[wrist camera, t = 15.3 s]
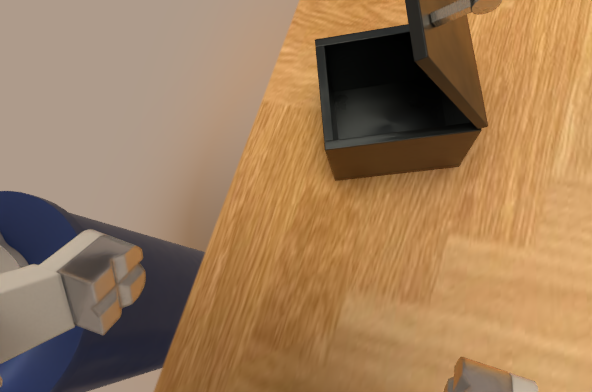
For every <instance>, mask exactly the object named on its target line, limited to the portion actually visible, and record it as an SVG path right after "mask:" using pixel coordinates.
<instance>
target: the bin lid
mask: <svg viewBox="0 0 592 392" xmlns="http://www.w3.org/2000/svg"><path fill="white" fill-rule="evenodd" d="M501 1H502V0H405V3H406V10H407V16H408V23H409V30H410V36H411V43H412V49H413V56H414V61H415V62H416V63H417V65H418V66H419V67H420V68H421V69H422V70H423V71H424V72H425V73H426V74H427V75H428V76H429V77H430V78H431V79H432V80H433V82H434V83H435V84H436V85H437V86H438V87H439V88H440V89H441V90H442V91H443V92H444V93H445V94H446V95H447V96H448V98H449V99H450V100H451V101H452V102H453V103H454V104H455V105H456V106H457V107H458V108H459V109H460V110H461V111H462V112H463V114H464V115H465V116H466V117H467V118H468V119H469V120H470V121H471V122H472V123H473V124H474V125H475V126H476V127H477V128H478V129H480V128H484V127H487V126H488V123H487V117H486V112H485V107H484V102H483V97H482V91H481V86H480V81H479V76H478V71H477V65H476V60H475V55H474V50H473V45H472V39H471V34H470V29H469V24H468V19H467V14H469V13H471V12H473V13H474V14H485V13H488V12H491V11H493V10H494V9H496V8H497V7H498V6H499V5H500V4H501Z"/></svg>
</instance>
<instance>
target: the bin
mask: <svg viewBox="0 0 592 392" xmlns="http://www.w3.org/2000/svg"><path fill="white" fill-rule="evenodd" d="M315 45H316V56H317V67H318V78H319V89H320V100H321V111H322V122H323V133H324V144H325V151H326V154H327V157H328V160H329V163H330V166H331V169H332V172H333V175H334V179H335V181H337V180H346V179H354V178H363V177H372V176H380V175H389V174H398V173H406V172H415V171H424V170H432V169H441V168H450V167H459V165H460V164H461V162H462V160H463V159H464V157H465V156H466V154H467V152H468V151H469V149H470V148H471V146H472V144H473V143H474V141H475V140H476V138H477V136H478V135H479V133H480V132H481V128H480V129H478V128H477V127H476V126H475V125H474V124H473V123H472V122H471V121H470V120H469V119H468V118H467V117H466V116H465V115H464V114H463V112H462V111H461V110H460V109H459V108H458V107H457V106H456V105H455V104H454V103H453V102H452V101H451V100H450V99H449V98H448V96H447V95H446V94H445V93H444V92H443V91H442V90H441V89H440V88H439V87H438V86H437V85H436V84H435V83H434V82H433V80H432V79H431V78H430V77H429V76H428V75H427V74H426V73H425V72H424V71H423V70H422V69H421V68H420V67H419V66H418V65H417V63H416V62H415V61H414V56H413V49H412V43H411V36H410V30H409V24H407V25H401V26H395V27H389V28H383V29H377V30H371V31H365V32H359V33H352V34H346V35H340V36H334V37H328V38H322V39H316V40H315Z"/></svg>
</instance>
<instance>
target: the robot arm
mask: <svg viewBox="0 0 592 392" xmlns="http://www.w3.org/2000/svg"><path fill="white" fill-rule="evenodd" d="M142 259H143V254H142V248H140V247H138V246H135V245H133V244H130V243H127V242H125V241H122V240H120V239H117V238H114V237H112V236H109V235H106V234H103V233H100V232H97V231H95V230H92V229H89V230H85V231H83V232H82V233H80V234H79V235H78V236H77V237H75V238H74V239H73V240H71V241H70V242H69V243H67V244H66V245H65V246H63V247H62V248H61V249H60V250H58V251H57V252H56V253H54V254H53V255H52V256H50V257H49V258H48V259H46V260H45V261H44V262H43V263H41V264H40V265H36V264H31V265H29V264H28V262H27V261H26V259H25V258H24V257H23V256H22V255H21V254H20V253H19V252H18V251H16V250H15V249H14V248H12V247H11V246H9V245H8V244H7V243H6V242H5V240H4V238H3V236H2V234H1V232H0V364H1V363H3V362H5V361H7V360H9V359H11V358H13V357H15V356H17V355H19V354H21V353H23V352H25V351H27V350H29V349H31V348H33V347H35V346H37V345H39V344H41V343H43V342H45V341H47V340H49V339H51V338H54V337H56V336H58V335H60V334H62V333H64V332H66V331H68V330H70V329H72V328H74V327H75V325H77V326H79V327H82V328H85V329H88V330H90V331H93V332H96V333H98V334H101V335H104V334H105V333H106V332H107V331H108V330H109V329H110V328H111V327H112V326H113V324H114V323H115V322H116V321H117V320H118V319H119V318H120V317H121V310H122V308H124V307H126V306H129V305H131V304H133V303H134V302H135V300H136V299H137V298H138V297H139V296H140V294H141V292H142V290H143V288H144V286H145V280H146V275H145V270H144V268H143V267H142V266H141V264H140V263H139V262H140V261H141V260H142ZM1 386H2V378H1V376H0V387H1ZM444 392H538V386H537V384H536V382H535V381H532V380H529V379H526V378H523V377H520V376H518V375H515V374H512V373H508V372H507V371H504V370H501V369H498V368H494V367H491V366H488V365H485V364H482V363H479V362H476V361H473V360H470V359H467V358H464V357H460V358H459V359H458V361H457V363H456V365H455V368H454V377H452V378H450V379H448V381H447V384H446V386H445V388H444Z"/></svg>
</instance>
